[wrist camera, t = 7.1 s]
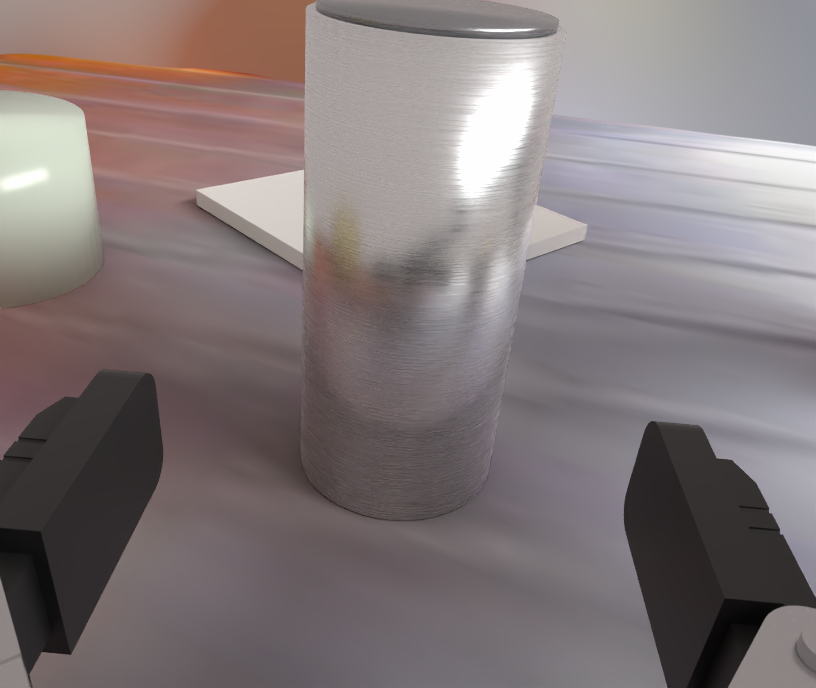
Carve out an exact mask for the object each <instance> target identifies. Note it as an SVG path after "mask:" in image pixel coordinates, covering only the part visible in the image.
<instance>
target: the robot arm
mask: <svg viewBox="0 0 816 688" xmlns="http://www.w3.org/2000/svg"><path fill="white" fill-rule="evenodd" d="M162 462H163V444H162V436H161V428H160V419H159V411H158V402H157V394H156V386H155V381H154V378H153V376H152V375H151V374H149V373H139V372H128V371H117V370H107V369H103V370H101V371H99V372H98V373H97V375H96V376H95V377H94V379H93V380H92V381H91V383H90V384H89V385H88V387H87V388H86V389H85V390H84V392H83V393H82V394H81V396H80V397H79V398H73V397H64V398H62V399H61V400H59V401H58V402H56V403H55V404H53V405H51V406H50V407H48V408H47V409H45V410H43V411H42V412H40V413H39V414H37V415H36V416H35V417H34V419H33V420H32V421H31V422H30V424H29V425H28V426H27V427H26V429H25V430H24V431H23V432H22V433H21V435H20V436H19V440H18V442H16V441H15V442H14V443H13V445H12V446H11V447H10V448H9V449H8V451H7V452H6V453H5V454H4V459H3V460H0V688H33V686H32V682H31V679H30V675H29V674H30V672H31V670H32V668H33V667H34V665H35V663H36V661H37V659H38V658H39V656H40V654H41V652H48V653H59V654H69V655H71V653H72V652H73V650H74V648H75V646H76V644H77V642H78V640H79V638H80V636H81V634H82V632H83V630H84V628H85V626H86V624H87V622H88V620H89V618H90V616H91V614H92V612H93V610H94V608H95V606H96V604H97V602H98V600H99V598H100V596H101V594H102V593H103V591H104V589H105V587H106V585H107V583H108V581H109V579H110V577H111V575H112V573H113V571H114V569H115V567H116V565H117V563H118V561H119V559H120V557H121V555H122V553H123V551H124V549H125V547H126V545H127V543H128V541H129V539H130V537H131V535H132V534H133V532H134V530H135V528H136V526H137V524H138V522H139V520H140V518H141V516H142V514H143V512H144V510H145V508H146V506H147V504H148V502H149V500H150V498H151V496H152V494H153V492H154V490H155V488H156V486H157V484H158V481H159V478H160V474H161V469H162ZM624 525H625V531H626V535H627V539H628V543H629V546H630V550H631V554H632V558H633V561H634V565H635V569H636V572H637V576H638V580H639V583H640V587H641V591H642V595H643V598H644V602H645V606H646V609H647V613H648V617H649V620H650V624H651V628H652V631H653V635H654V639H655V643H656V646H657V650H658V654H659V657H660V661H661V665H662V668H663V672H664V676H665V680H666V683H667V687H668V688H816V598H815V596H814V594H813V592H812V590H811V588H810V587H809V585H808V583H807V581H806V579H805V577H804V575H803V573H802V571H801V569H800V567H799V565H798V563H797V561H796V559H795V557H794V556H793V554H792V552H791V550H790V548H789V546H788V544H787V542H786V540H785V538H784V536H783V535H780V528H779V527H778V525H777V523H776V521H775V519H774V517H773V515H772V514H771V513H769V507H768V505H767V503H766V501H765V499H764V498H763V496H762V494H761V492H760V490H759V488H758V486H757V484H756V483H755V482H754V481H753V480H752V479H751V478H750V477H749V476H748V475H747V474H746V473H745V472H744V471H743V470H742V469H741V468H740V467H739V466H737V465H736V464H735V463H734V462H733V461H732V460H728V459H717V458H716V456H715V454H714V452H713V450H712V448H711V446H710V444H709V441H708V439H707V437H706V435H705V433H704V431H703V429H702V428H701V427H700V426H698V425H689V424H678V423H667V422H656V421H651V422H650V423H649V424H648V425H647V427H646V429H645V432H644V435H643V438H642V441H641V445H640V448H639V451H638V455H637V458H636V462H635V465H634V468H633V472H632V475H631V478H630V482H629V485H628V489H627V492H626V497H625V503H624Z"/></svg>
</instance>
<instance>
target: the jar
mask: <svg viewBox="0 0 816 688" xmlns="http://www.w3.org/2000/svg"><path fill="white" fill-rule="evenodd" d="M103 262H104V251H103V244H102V237H101V230H100V222H99V215H98V208H97V201H96V194H95V187H94V180H93V173H92V166H91V159H90V152H89V145H88V138H87V131H86V124H85V117H84V113H83V111H82V110H81V109H80V108H79V107H78V106H76V105H74V104H72V103H70V102H68V101H65V100H62V99H59V98H55V97H51V96H47V95H41V94H35V93H28V92H19V91H6V90H0V309H5V308H12V307H18V306H23V305H28V304H33V303H37V302H40V301H44V300H47V299H51V298H54V297H57V296H59V295H62V294H65V293H67V292H70V291H72V290H74V289H76V288H78V287H80V286H81V285H83V284H85V283H86V282H88V281H89V280H90V279H92V278H93V277H94V276H95V275H96V274H97V273H98V272H99V271H100V269H101V267H102V265H103Z"/></svg>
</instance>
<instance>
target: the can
mask: <svg viewBox="0 0 816 688" xmlns="http://www.w3.org/2000/svg"><path fill="white" fill-rule="evenodd" d="M558 24H559V20H558V19H557V18H556V17H554V16H552V15H549V14H546V13H543V12H540V11H536V10H532V9H528V8H523V7H519V6H514V5H508V4H502V3H496V2H490V1H483V0H316V3H312V4H310V5H308V6H307V7H306V52H305V134H304V217H303V300H302V383H301V462H302V466H303V469H304V471H305V474H306V476H307V477H308V479H309V480H310V482H311V483H312V485H313V486H314V487H315V488H316V489H317V490H318V491H319V492H320V493H322V494H323V495H324V496H325V497H327V498H328V499H329V500H331V501H333V502H334V503H336V504H338V505H340V506H342V507H344V508H346V509H348V510H350V511H353V512H356V513H359V514H362V515H366V516H370V517H374V518H380V519H388V520H419V519H426V518H431V517H435V516H439V515H443V514H446V513H448V512H451V511H453V510H455V509H457V508H459V507H461V506H463V505H464V504H466V503H467V502H469V501H470V500H471V499H473V498H474V497H475V496H476V495H477V494H478V493H479V491H480V490H481V489H482V487H483V486H484V484H485V482H486V480H487V477H488V473H489V469H490V463H491V457H492V452H493V446H494V440H495V435H496V429H497V423H498V418H499V412H500V406H501V401H502V395H503V389H504V384H505V378H506V373H507V367H508V361H509V356H510V350H511V344H512V339H513V333H514V327H515V322H516V316H517V310H518V305H519V299H520V294H521V288H522V282H523V277H524V271H525V265H526V260H527V254H528V248H529V243H530V237H531V231H532V226H533V220H534V215H535V209H536V203H537V198H538V192H539V186H540V181H541V175H542V169H543V164H544V158H545V152H546V147H547V141H548V136H549V130H550V124H551V119H552V113H553V107H554V102H555V96H556V90H557V84H558V79H559V73H560V68H561V62H562V56H563V50H564V45H565V40H566V34H567V32H566V30H565V29H563V28H562V27H560V26H558Z"/></svg>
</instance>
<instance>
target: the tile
mask: <svg viewBox="0 0 816 688" xmlns="http://www.w3.org/2000/svg"><path fill="white" fill-rule="evenodd" d="M196 198H197V205H198V206H199V207H201V208H203V209H204V210H206V211H208V212H209V213H211V214H212V215H214V216H216V217H217V218H219V219H220V220H222V221H224V222H225V223H227V224H229V225H230V226H232V227H233V228H235V229H237V230H238V231H240V232H241V233H243V234H245V235H246V236H248V237H250V238H251V239H253V240H254V241H256V242H258V243H259V244H261V245H262V246H264V247H266V248H267V249H269V250H271V251H272V252H274V253H275V254H277V255H279V256H280V257H282V258H284V259H285V260H287V261H288V262H290V263H292V264H293V265H295V266H296V267H298V268H300V269H301V270H303V217H304V170H300V171H295V172H289V173H284V174H279V175H273V176H268V177H262V178H257V179H252V180H246V181H241V182H235V183H230V184H225V185H219V186H214V187H209V188H203V189H198V190H196ZM587 226H588V225H586V224H584V223H581V222H579V221H576V220H574V219H571V218H569V217H566V216H564V215H561V214H558V213H556V212H553V211H551V210H548V209H546V208H543V207H541V206H538V205H536V209H535V215H534V220H533V226H532V231H531V237H530V243H529V248H528V254H527V260H529V259H532V258H534V257H537V256H540V255H543V254H546V253H549V252H551V251H554V250H557V249H560V248H563V247H566V246H568V245H571V244H574V243H577V242H580V241H583V240H585V235H586V230H587Z"/></svg>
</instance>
